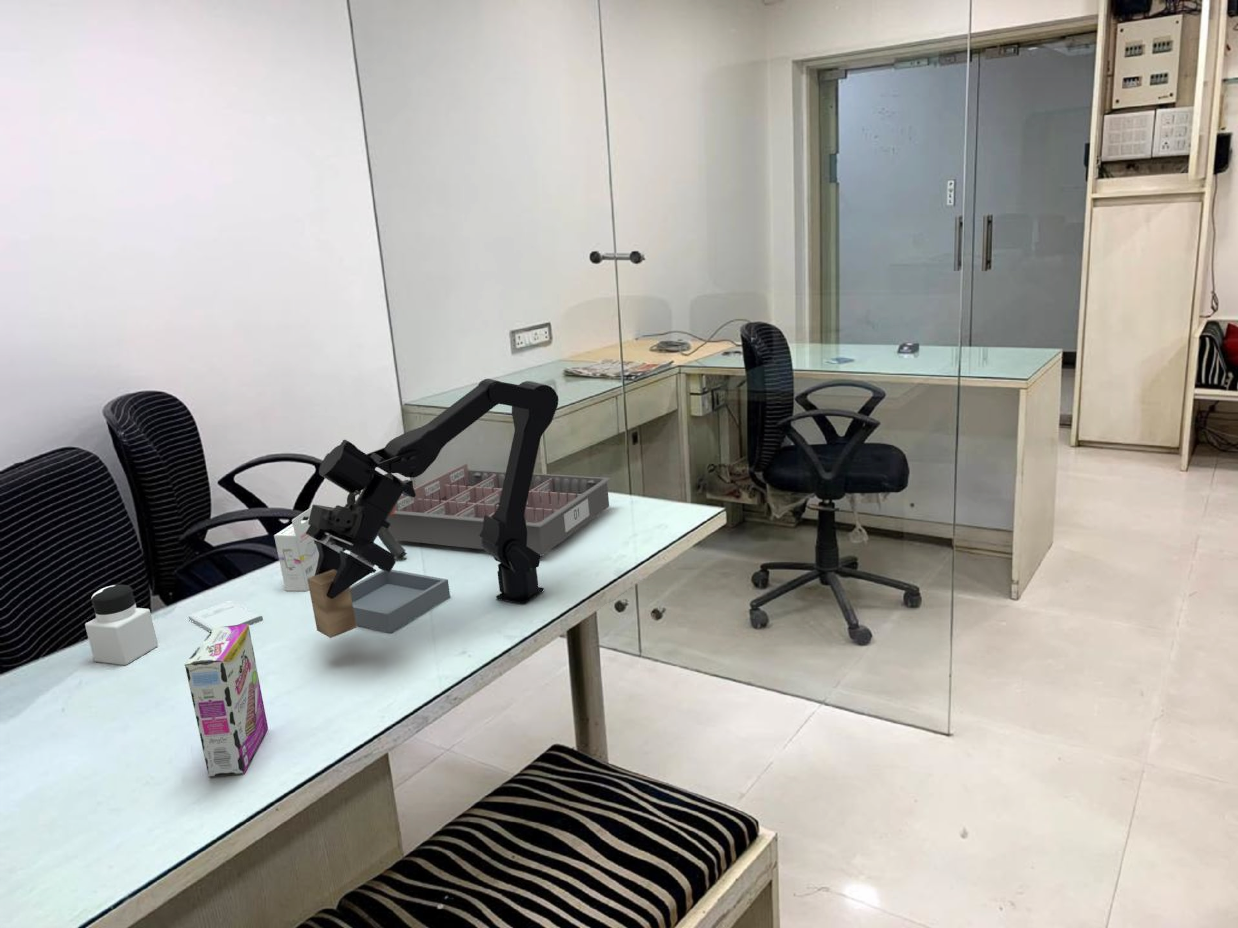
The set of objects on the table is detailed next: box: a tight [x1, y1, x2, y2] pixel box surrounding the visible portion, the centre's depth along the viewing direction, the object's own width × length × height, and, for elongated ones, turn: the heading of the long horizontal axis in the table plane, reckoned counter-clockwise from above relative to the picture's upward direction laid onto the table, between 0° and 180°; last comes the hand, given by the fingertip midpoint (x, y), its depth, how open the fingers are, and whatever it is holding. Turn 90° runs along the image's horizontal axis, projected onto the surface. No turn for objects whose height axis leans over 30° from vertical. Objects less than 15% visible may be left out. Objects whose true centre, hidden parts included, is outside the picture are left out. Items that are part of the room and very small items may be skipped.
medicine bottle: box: [84, 584, 159, 666], centre depth 154 cm, size 7×7×12 cm
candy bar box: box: [184, 624, 269, 778], centre depth 121 cm, size 11×5×16 cm, turn 5°
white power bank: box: [188, 600, 264, 633], centre depth 166 cm, size 2×8×12 cm
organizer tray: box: [386, 462, 612, 556], centre depth 202 cm, size 32×40×10 cm
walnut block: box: [307, 569, 357, 639], centre depth 145 cm, size 4×4×9 cm
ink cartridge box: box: [273, 506, 319, 592], centre depth 179 cm, size 9×5×15 cm, turn 168°
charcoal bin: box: [350, 569, 451, 634], centre depth 165 cm, size 16×16×4 cm
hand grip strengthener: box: [346, 490, 408, 560], centre depth 188 cm, size 2×12×15 cm, turn 73°
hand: (321, 593), depth 143 cm, fingers closed on walnut block, 4 cm apart
